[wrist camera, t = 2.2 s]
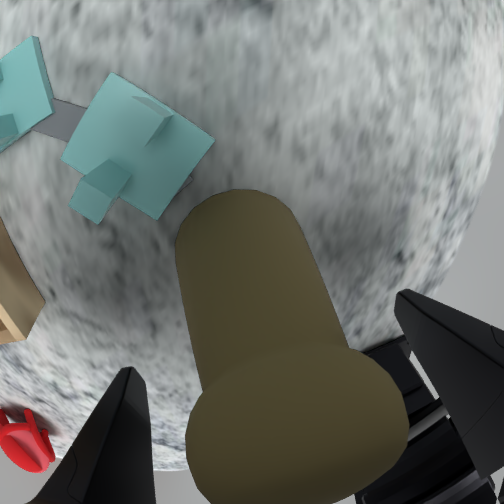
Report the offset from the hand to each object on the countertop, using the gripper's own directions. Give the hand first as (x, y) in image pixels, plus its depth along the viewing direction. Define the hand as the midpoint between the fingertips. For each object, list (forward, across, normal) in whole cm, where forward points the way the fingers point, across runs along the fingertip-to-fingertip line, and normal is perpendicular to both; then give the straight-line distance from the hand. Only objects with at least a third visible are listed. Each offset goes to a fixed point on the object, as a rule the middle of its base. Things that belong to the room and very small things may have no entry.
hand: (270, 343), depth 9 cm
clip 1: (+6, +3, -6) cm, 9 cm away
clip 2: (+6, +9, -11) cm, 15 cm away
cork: (+6, 0, 0) cm, 6 cm away
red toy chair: (+6, +25, +12) cm, 28 cm away
